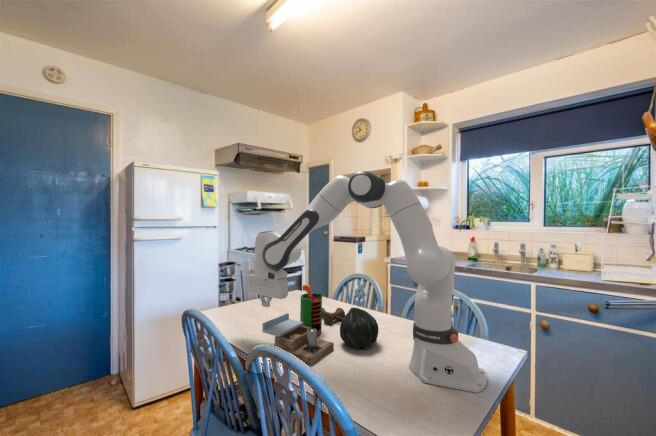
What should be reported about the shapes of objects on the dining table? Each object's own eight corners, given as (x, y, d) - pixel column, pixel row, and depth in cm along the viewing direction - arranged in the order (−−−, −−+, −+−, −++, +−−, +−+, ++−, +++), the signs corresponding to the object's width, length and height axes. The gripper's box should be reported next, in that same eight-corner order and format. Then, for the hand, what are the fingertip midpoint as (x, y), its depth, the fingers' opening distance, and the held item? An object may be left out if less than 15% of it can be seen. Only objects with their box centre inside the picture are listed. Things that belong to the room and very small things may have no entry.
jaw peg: (318, 354, 105) (318, 329, 105) (313, 358, 102) (313, 332, 102) (310, 352, 107) (310, 327, 107) (305, 356, 104) (305, 330, 104)
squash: (390, 328, 115) (366, 296, 120) (377, 344, 102) (350, 308, 107) (365, 346, 121) (342, 315, 125) (349, 364, 108) (325, 328, 112)
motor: (318, 339, 119) (318, 288, 118) (296, 337, 120) (296, 287, 120) (323, 329, 129) (323, 283, 128) (303, 328, 130) (303, 282, 130)
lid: (303, 324, 117) (303, 316, 117) (278, 336, 105) (278, 327, 105) (287, 320, 121) (287, 313, 121) (262, 332, 109) (262, 323, 109)
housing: (333, 349, 109) (333, 333, 109) (311, 365, 97) (311, 347, 97) (299, 339, 118) (299, 324, 118) (274, 353, 106) (274, 336, 106)
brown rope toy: (322, 314, 151) (351, 323, 136) (307, 318, 144) (336, 329, 130) (322, 302, 151) (351, 310, 136) (307, 306, 144) (335, 315, 130)
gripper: (241, 269, 121) (241, 303, 121) (279, 276, 110) (279, 313, 110) (253, 267, 126) (253, 300, 126) (290, 273, 115) (290, 308, 115)
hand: (265, 306), depth 118 cm, fingers closed
